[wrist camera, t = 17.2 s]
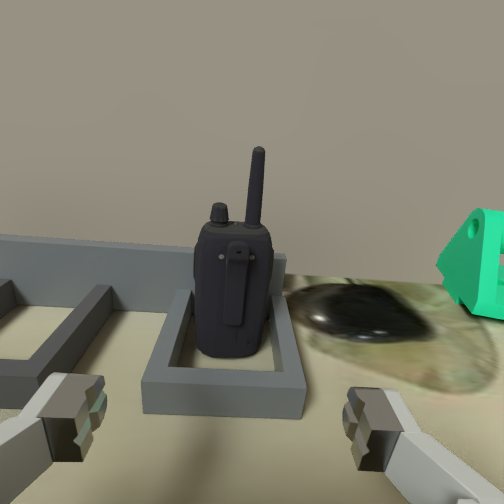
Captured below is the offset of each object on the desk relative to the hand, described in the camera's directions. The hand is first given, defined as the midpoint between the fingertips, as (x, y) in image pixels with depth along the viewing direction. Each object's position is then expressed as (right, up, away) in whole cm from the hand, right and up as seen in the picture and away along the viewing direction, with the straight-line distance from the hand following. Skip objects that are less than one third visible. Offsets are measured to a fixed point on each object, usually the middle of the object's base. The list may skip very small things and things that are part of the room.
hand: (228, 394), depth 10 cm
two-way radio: (-1, -3, +13) cm, 14 cm away
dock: (-8, -2, +13) cm, 15 cm away
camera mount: (+28, -1, +25) cm, 37 cm away
